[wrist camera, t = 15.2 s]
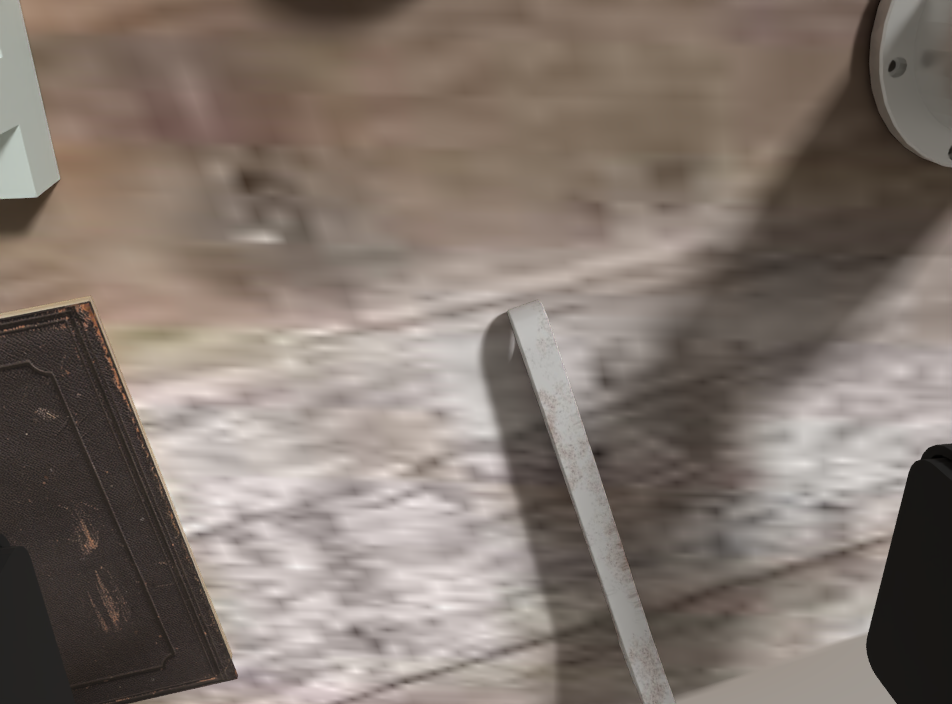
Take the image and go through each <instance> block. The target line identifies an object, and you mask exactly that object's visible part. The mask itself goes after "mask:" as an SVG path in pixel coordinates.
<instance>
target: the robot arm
mask: <svg viewBox="0 0 952 704" xmlns="http://www.w3.org/2000/svg"><path fill="white" fill-rule="evenodd" d="M889 64H890V66H889ZM869 68H870V78H871V88H872V92H873V95H874V99H875V102H876V105H877V108H878V112H879V114H880V115H881V117H882V119H883V121H884V122H885V124H886V126H887V128H888V129H889V131H890V132H891V133H892V134H893V136H894V137H895V138H896V139H897V140H898V141H899V142H900V143H901V144H902V145H903V146H904V147H905V148H907V149H908V150H910V151H911V152H913V153H915V154H916V155H918V156H919V157H921V158H923V159H926V160H929V161H931V162H934V163H937V164H939V165H942V166H946V167H951V168H952V0H881V1H880V4H879V6H878V10H877V14H876V18H875V22H874V26H873V30H872V34H871V44H870V57H869ZM866 648H867V655H868V659H869V662H870V665H871V667H872V669H873V671H874V673H875V675H876V676H877V678H878V679H879V680H880V682H881V683H882V684H883V686H884V687H885V688H886V690H887V691H888V692H889V694H890V695H891V696H892V698H893V699H894V700H895V702H896V703H897V704H952V444H942V445H935V446H932V447H929V448H928V449H927V450H926V451H925V452H924V453H923V455H922V458H921V460H919V461H916V462H915V463H914V464H913V465H912V466H911V469H910V471H909V474H908V478H907V482H906V486H905V490H904V494H903V498H902V502H901V506H900V510H899V514H898V517H897V521H896V525H895V529H894V533H893V537H892V541H891V545H890V549H889V553H888V557H887V561H886V565H885V569H884V573H883V577H882V581H881V585H880V589H879V593H878V597H877V601H876V605H875V609H874V613H873V617H872V620H871V624H870V628H869V632H868V636H867V643H866ZM0 704H75V701H74V697H73V694H72V691H71V688H70V684H69V681H68V678H67V675H66V671H65V668H64V665H63V661H62V658H61V655H60V652H59V648H58V645H57V642H56V639H55V635H54V632H53V629H52V626H51V622H50V619H49V616H48V613H47V609H46V606H45V603H44V599H43V596H42V593H41V590H40V586H39V583H38V580H37V577H36V573H35V570H34V567H33V564H32V560H31V557H30V555H29V553H28V551H27V550H26V549H25V547H23V546H12V547H11V545H10V543H9V541H8V540H7V538H6V537H5V536H4V535H3V534H0Z"/></svg>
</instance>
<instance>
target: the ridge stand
mask: <svg viewBox="0 0 952 704" xmlns="http://www.w3.org/2000/svg"><path fill="white" fill-rule="evenodd" d="M58 180H60V176H59V171H58V167H57V163H56V158H55V154H54V150H53V145H52V141H51V137H50V132H49V128H48V124H47V119H46V115H45V111H44V106H43V102H42V97H41V93H40V89H39V84H38V80H37V76H36V71H35V67H34V63H33V58H32V54H31V50H30V45H29V41H28V37H27V32H26V28H25V24H24V19H23V15H22V11H21V6H20V2H19V0H0V199H13V198H34V197H38V196H39V195H41V194H42V193H43V192H44V191H46V190H47V189H48V188H49V187H51V186H52V185H53V184H55V183H56V182H57V181H58Z"/></svg>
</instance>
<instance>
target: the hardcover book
mask: <svg viewBox="0 0 952 704" xmlns="http://www.w3.org/2000/svg"><path fill="white" fill-rule="evenodd" d="M0 534H3V535H4V536H5V537H6V538H7V540H8V541H9V543H10V545H11V547H12V546H23V547H25V549H26V550H27V551H28V553H29V555H30V557H31V560H32V564H33V567H34V570H35V573H36V577H37V580H38V583H39V586H40V590H41V593H42V596H43V599H44V603H45V606H46V609H47V613H48V616H49V619H50V622H51V626H52V629H53V632H54V635H55V639H56V642H57V645H58V648H59V652H60V655H61V658H62V661H63V665H64V668H65V671H66V675H67V678H68V681H69V684H70V688H71V691H72V694H73V697H74V701H75V704H128V703H133V702H137V701H142V700H146V699H151V698H155V697H159V696H164V695H168V694H173V693H177V692H181V691H186V690H190V689H195V688H199V687H204V686H208V685H212V684H217V683H221V682H226V681H230V680H234V679H237V677H238V674H237V672H236V669H235V667H234V664H233V662H232V652H231V650H230V647H229V645H228V642H227V639H226V637H225V634H224V632H223V629H222V627H221V624H220V622H219V619H218V617H217V614H216V611H215V609H214V606H213V604H212V601H211V599H210V596H209V594H208V591H207V589H206V586H205V583H204V581H203V578H202V576H201V573H200V571H199V568H198V566H197V563H196V561H195V558H194V555H193V553H192V550H191V548H190V545H189V543H188V540H187V538H186V535H185V533H184V530H183V527H182V525H181V522H180V520H179V517H178V515H177V512H176V510H175V507H174V505H173V502H172V499H171V497H170V494H169V492H168V489H167V487H166V484H165V482H164V479H163V477H162V474H161V471H160V469H159V466H158V464H157V461H156V459H155V456H154V454H153V451H152V449H151V446H150V443H149V441H148V438H147V436H146V433H145V431H144V428H143V426H142V423H141V421H140V418H139V415H138V413H137V410H136V408H135V405H134V403H133V400H132V398H131V395H130V393H129V390H128V387H127V385H126V382H125V380H124V377H123V375H122V372H121V370H120V367H119V365H118V362H117V359H116V357H115V354H114V352H113V349H112V347H111V344H110V342H109V339H108V337H107V334H106V331H105V329H104V326H103V324H102V321H101V319H100V316H99V314H98V311H97V309H96V306H95V303H94V301H93V298H92V296H87V297H82V298H77V299H72V300H67V301H62V302H57V303H51V304H46V305H41V306H36V307H31V308H26V309H21V310H16V311H11V312H5V313H0Z"/></svg>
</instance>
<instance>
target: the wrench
mask: <svg viewBox="0 0 952 704" xmlns="http://www.w3.org/2000/svg"><path fill="white" fill-rule="evenodd" d="M507 313H508V317H509V320H510V323H511V326H512V329H513V331H514V334H515V337H516V340H517V343H518V346H519V349H520V352H521V355H522V358H523V361H524V364H525V367H526V370H527V373H528V375H529V378H530V381H531V384H532V387H533V390H534V393H535V396H536V399H537V402H538V404H539V407H540V410H541V413H542V416H543V419H544V422H545V425H546V428H547V431H548V434H549V436H550V439H551V442H552V445H553V448H554V451H555V454H556V457H557V460H558V463H559V466H560V468H561V471H562V474H563V477H564V480H565V483H566V486H567V489H568V492H569V495H570V498H571V500H572V503H573V506H574V509H575V512H576V515H577V518H578V521H579V524H580V527H581V529H582V532H583V535H584V538H585V541H586V544H587V547H588V550H589V553H590V556H591V559H592V561H593V564H594V567H595V570H596V573H597V576H598V579H599V582H600V585H601V588H602V591H603V594H604V596H605V599H606V602H607V605H608V608H609V611H610V614H611V617H612V620H613V623H614V626H615V630H616V633H617V636H618V642H619V645H620V648H621V650H622V653H623V656H624V659H625V661H626V664H627V667H628V669H629V671H630V675H631V677H632V679H633V683H634V685H635V687H636V689H637V692H638V694H639V697H640V700H641V702H642V704H676V702H675V699H674V696H673V694H672V691H671V688H670V685H669V683H668V680H667V677H666V674H665V671H664V669H663V666H662V663H661V660H660V657H659V654H658V652H657V649H656V646H655V643H654V640H653V638H652V635H651V632H650V629H649V626H648V623H647V619H646V616H645V613H644V610H643V607H642V604H641V601H640V598H639V595H638V592H637V589H636V586H635V582H634V579H633V576H632V573H631V570H630V567H629V564H628V561H627V558H626V555H625V552H624V549H623V546H622V542H621V539H620V536H619V533H618V530H617V527H616V524H615V521H614V518H613V515H612V512H611V509H610V505H609V502H608V499H607V496H606V493H605V490H604V487H603V484H602V481H601V478H600V475H599V472H598V469H597V465H596V462H595V459H594V456H593V453H592V450H591V447H590V444H589V441H588V438H587V435H586V432H585V428H584V425H583V422H582V419H581V416H580V413H579V410H578V407H577V404H576V401H575V398H574V395H573V392H572V388H571V385H570V382H569V379H568V376H567V373H566V370H565V367H564V364H563V361H562V358H561V355H560V352H559V348H558V345H557V342H556V339H555V336H554V333H553V330H552V328H551V325H550V322H549V319H548V317H547V314H546V312H545V310H544V307H543V305H542V303H541V301H540V300H535V301H532V302H530V303H527V304H524V305H521V306H519V307H516V308H513V309H510V310H508V311H507Z"/></svg>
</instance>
